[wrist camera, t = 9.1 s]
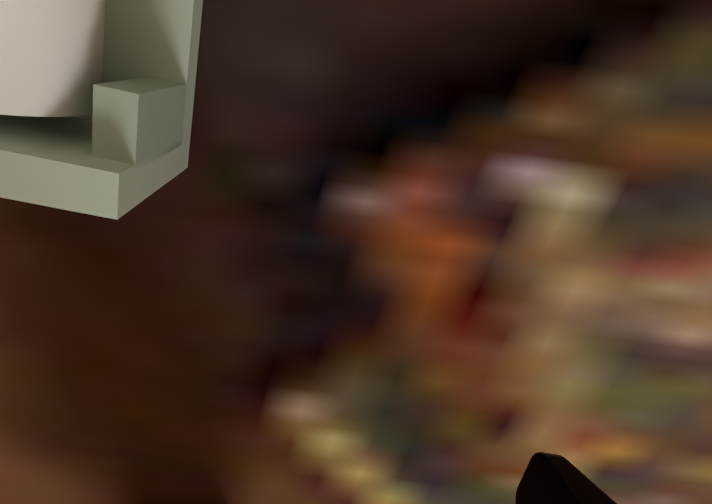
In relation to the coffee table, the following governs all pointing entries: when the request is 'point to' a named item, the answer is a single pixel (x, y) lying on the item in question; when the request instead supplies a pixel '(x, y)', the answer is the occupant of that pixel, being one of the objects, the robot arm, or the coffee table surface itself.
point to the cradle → (114, 118)
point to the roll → (50, 56)
